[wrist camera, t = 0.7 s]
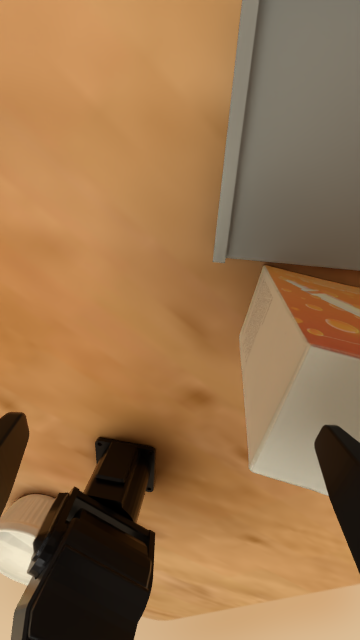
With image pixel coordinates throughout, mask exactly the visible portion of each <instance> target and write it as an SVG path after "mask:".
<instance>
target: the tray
mask: <svg viewBox="0 0 360 640" xmlns="http://www.w3.org/2000/svg"><path fill="white" fill-rule="evenodd" d="M225 258H233V259H244V260H254V261H265V262H275V263H286V264H296V265H306V266H317V267H327V268H338V269H348V270H359V271H360V0H242V7H241V16H240V25H239V34H238V43H237V52H236V60H235V69H234V78H233V87H232V96H231V105H230V114H229V122H228V131H227V140H226V149H225V158H224V167H223V175H222V184H221V193H220V202H219V211H218V220H217V228H216V237H215V246H214V255H213V262H219V263H225Z"/></svg>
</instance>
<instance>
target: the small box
mask: <svg viewBox="0 0 360 640" xmlns="http://www.w3.org/2000/svg"><path fill="white" fill-rule="evenodd" d="M239 342H240V356H241V369H242V379H243V392H244V405H245V417H246V428H247V444H248V459H249V469H250V471H252V472H254V473H257V474H260V475H264V476H266V477H269V478H273V479H276V480H280V481H283V482H286V483H289V484H293V485H296V486H300V487H303V488H307V489H310V490H313V491H316V492H319V493H322V494H324V495H327V496H329V495H328V492H327V489H326V485H325V482H324V479H323V475H322V472H321V469H320V465H319V462H318V459H317V455H316V452H315V448H314V442H315V439H316V437H317V435H318V434H319V432H320V430H321V428H322V426H324V425H337V426H339V427H341V428H342V429H343V430H344V431H346V432H347V433H348V434H349V435H351V436H352V437H353V438H355V439H356V440H357V441H358V442H360V288H358V287H353V286H349V285H344V284H340V283H336V282H332V281H328V280H323V279H319V278H315V277H311V276H307V275H303V274H299V273H295V272H291V271H288V270H284V269H280V268H276V267H272V266H269V265H264V266H263V268H262V271H261V274H260V277H259V280H258V283H257V286H256V289H255V291H254V294H253V297H252V300H251V303H250V306H249V309H248V312H247V315H246V317H245V320H244V323H243V326H242V329H241V332H240V335H239Z"/></svg>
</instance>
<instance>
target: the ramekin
mask: <svg viewBox="0 0 360 640" xmlns="http://www.w3.org/2000/svg"><path fill="white" fill-rule="evenodd" d="M55 499H56V498H53V497H50V496H47V495H42V494H30V495H26V496H24V497H22V498H20V499H18V500H17V501H15V502H14V503H13V504H12V505H11V506H10V507H9V508H8V510H7V511H6V512H5V513H4V514H3V515H2V516H1V517H0V573H1V574H3V575H5V576H6V577H8V578H10V579H12V580H14V581H17V582H19V583H22V584H24V585H27V586H28V584H29V582H30V580H31V578H32V576H31V575H29V574H27V570H28V567H29V565H30V562H31V558H32V555H33V552H34V551H33V541H34V539H35V537H36V535H37V533H38V531H39V529H40V527H41V524H42V522H43V520H44V518H45V516H46V515H47V513H48V511H49V509H50V507H51V506H52V504H53V502H54V500H55Z"/></svg>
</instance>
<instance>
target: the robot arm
mask: <svg viewBox="0 0 360 640" xmlns="http://www.w3.org/2000/svg"><path fill="white" fill-rule="evenodd" d="M28 439H29V428H28V424H27V419H26V415H25V414H24V413H22V412H9V413H7V414H5V415H4V416H3V417H1V418H0V517H1V515H2V512H3V510H4V508H5V506H6V503H7V501H8V498H9V496H10V493H11V490H12V488H13V485H14V482H15V479H16V476H17V473H18V470H19V467H20V463H21V460H22V457H23V454H24V451H25V448H26V445H27V442H28ZM95 448H96V461H97V466H96V468H95V470H94V472H93V474H92V476H91V478H90V480H89V482H88V484H87V486H86V488H85V490H84V492H83V493H82V492H81V491H79V489H78V488H76V487H74V488H73V489H72V490H71V491H70V493H59V494H58V495H57V497H56V499H55V500H54V502H53V504H52V506H51V507H50V509H49V511H48V513H47V515H46V516H45V518H44V520H43V522H42V524H41V527H40V529H39V531H38V533H37V535H36V537H35V539H34V541H33V551H34V552H33V555H32V558H31V562H30V565H29V567H28V570H27V574H29V575H31V576H32V578H31V580H30V582H29V584H28V586H27V588H26V590H25V592H24V594H23V595H22V597H21V599H20V601H19V603H18V605H17V607H16V609H15V612H14V618H13V626H12V635H11V640H134V636H135V632H136V628H137V624H138V621H139V620H140V618H141V616H142V614H143V612H144V610H145V607H146V605H147V602H148V599H149V596H150V592H151V588H152V581H153V566H154V546H155V532H153V531H151V530H147V529H145V528H144V527H142V526H140V525H138V524H137V520H138V516H139V512H140V509H141V505H142V502H143V498H144V495H145V491H147V492H152V491H153V489H154V480H155V457H156V450H155V448H153V447H150V446H144V445H138V444H133V443H127V442H122V441H116V440H110V439H105V438H98V439H97V440H96V442H95ZM314 448H315V452H316V455H317V459H318V462H319V465H320V469H321V472H322V475H323V479H324V482H325V485H326V489H327V492H328V495H329V498H330V501H331V503H332V506H333V509H334V511H335V514H336V516H337V519H338V521H339V523H340V526H341V528H342V531H343V533H344V536H345V538H346V541H347V543H348V546H349V548H350V551H351V553H352V556H353V558H354V561H355V563H356V566H357V568H358V571H359V573H360V442H358V441H357V440H356V439H355V438H353V437H352V436H351V435H349V434H348V433H347V432H346V431H344V430H343V429H342V428H341V427H339V426H337V425H324V426H322V428H321V430H320V432H319V434H318V435H317V437H316V439H315V442H314Z"/></svg>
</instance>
